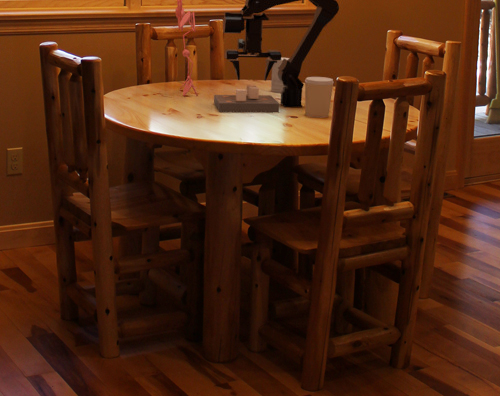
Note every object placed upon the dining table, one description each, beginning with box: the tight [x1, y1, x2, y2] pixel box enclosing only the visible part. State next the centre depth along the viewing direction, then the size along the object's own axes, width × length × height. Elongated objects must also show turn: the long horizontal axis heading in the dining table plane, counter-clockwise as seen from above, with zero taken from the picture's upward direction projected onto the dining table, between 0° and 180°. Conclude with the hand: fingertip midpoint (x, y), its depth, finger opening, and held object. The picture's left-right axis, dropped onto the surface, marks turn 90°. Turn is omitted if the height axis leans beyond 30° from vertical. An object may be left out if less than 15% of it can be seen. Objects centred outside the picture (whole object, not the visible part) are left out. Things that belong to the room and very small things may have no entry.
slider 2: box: [245, 84, 257, 96], centre depth 243 cm, size 3×2×4 cm
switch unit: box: [213, 94, 280, 113], centre depth 240 cm, size 20×15×3 cm
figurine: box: [160, 0, 199, 98], centre depth 256 cm, size 15×26×35 cm, turn 8°
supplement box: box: [270, 56, 290, 94], centre depth 272 cm, size 7×7×13 cm
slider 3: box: [248, 86, 260, 99], centre depth 239 cm, size 3×2×4 cm
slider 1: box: [235, 88, 246, 101], centre depth 234 cm, size 3×2×4 cm
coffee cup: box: [304, 76, 335, 119], centre depth 231 cm, size 9×9×12 cm
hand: (251, 80), depth 242 cm, fingers open, 9 cm apart
